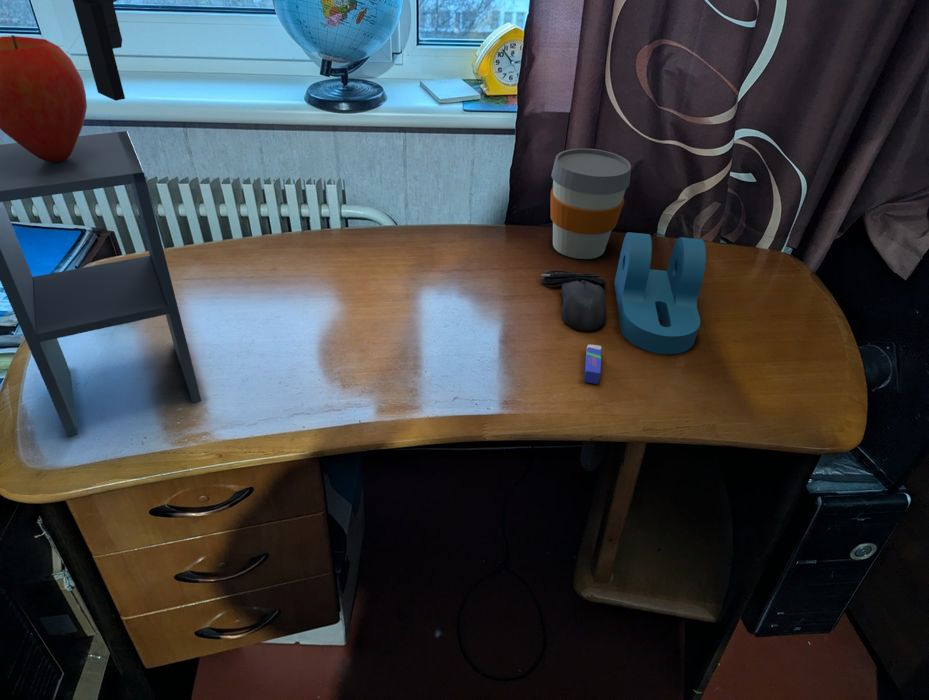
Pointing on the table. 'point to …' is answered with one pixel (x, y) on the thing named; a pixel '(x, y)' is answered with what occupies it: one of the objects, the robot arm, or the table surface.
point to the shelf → (90, 288)
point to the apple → (40, 97)
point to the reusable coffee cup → (586, 200)
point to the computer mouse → (580, 298)
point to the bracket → (659, 294)
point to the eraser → (593, 364)
